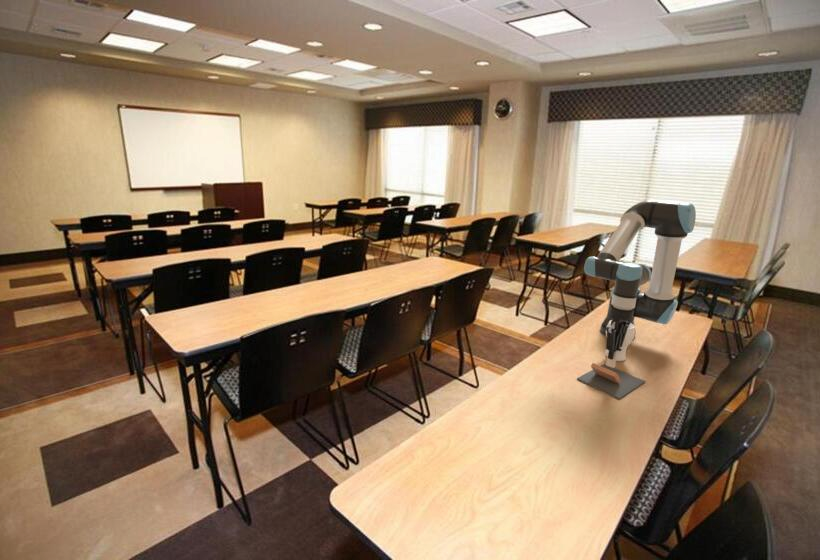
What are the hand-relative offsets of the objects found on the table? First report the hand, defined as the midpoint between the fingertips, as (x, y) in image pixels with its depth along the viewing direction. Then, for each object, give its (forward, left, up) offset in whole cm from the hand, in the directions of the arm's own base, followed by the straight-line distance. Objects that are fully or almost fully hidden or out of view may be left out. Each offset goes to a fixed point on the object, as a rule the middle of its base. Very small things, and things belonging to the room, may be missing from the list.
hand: (610, 365), depth 151 cm
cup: (-22, -8, -6) cm, 24 cm away
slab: (0, 0, -5) cm, 5 cm away
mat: (-1, +1, -6) cm, 6 cm away
